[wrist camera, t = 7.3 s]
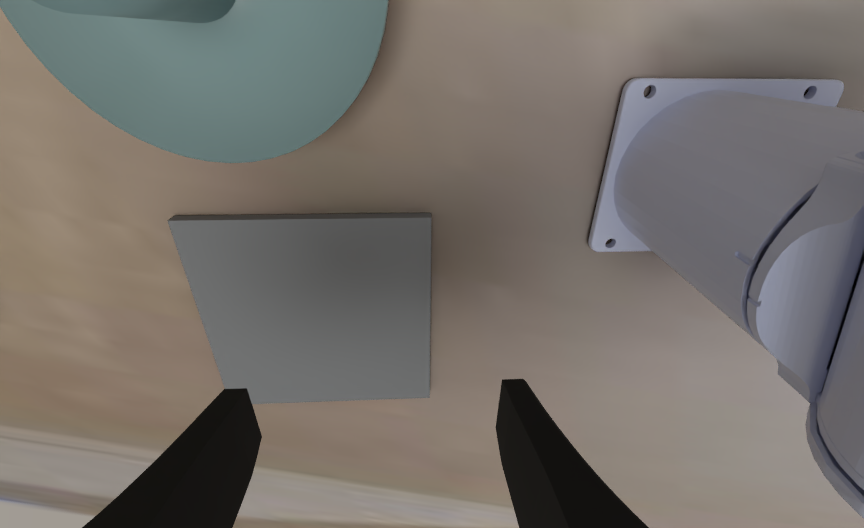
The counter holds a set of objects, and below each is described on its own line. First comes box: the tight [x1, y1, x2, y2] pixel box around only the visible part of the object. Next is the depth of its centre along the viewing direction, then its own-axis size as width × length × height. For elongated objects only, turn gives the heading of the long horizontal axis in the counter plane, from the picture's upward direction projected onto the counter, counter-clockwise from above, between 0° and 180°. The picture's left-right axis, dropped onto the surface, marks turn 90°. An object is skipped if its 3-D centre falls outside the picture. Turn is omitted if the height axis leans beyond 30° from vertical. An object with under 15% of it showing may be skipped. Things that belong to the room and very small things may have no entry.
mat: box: [168, 213, 431, 404], centre depth 22 cm, size 12×12×1 cm
